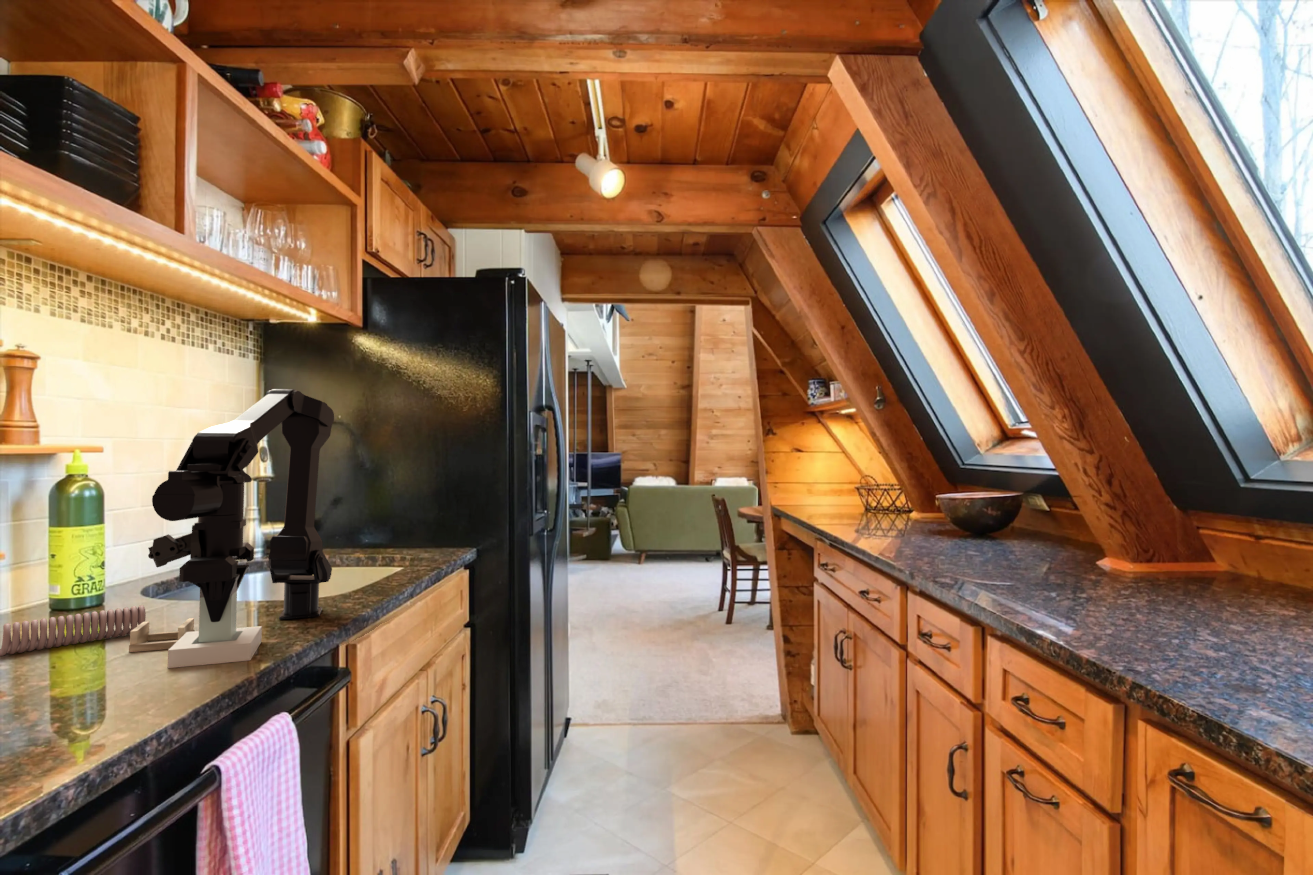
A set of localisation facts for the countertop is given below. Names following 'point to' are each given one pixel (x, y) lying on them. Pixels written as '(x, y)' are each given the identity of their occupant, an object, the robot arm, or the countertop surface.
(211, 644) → the plate
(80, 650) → the countertop surface
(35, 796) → the countertop surface
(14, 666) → the countertop surface
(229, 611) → the plug
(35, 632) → the coil
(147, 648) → the light brown square holder
